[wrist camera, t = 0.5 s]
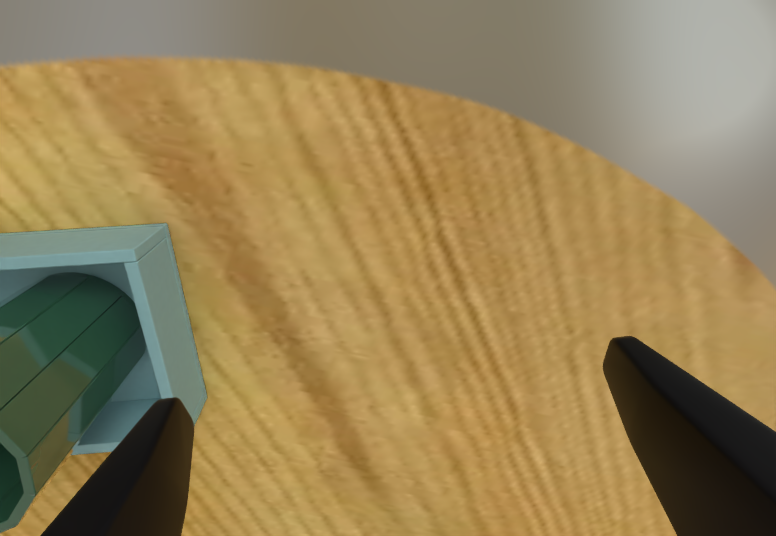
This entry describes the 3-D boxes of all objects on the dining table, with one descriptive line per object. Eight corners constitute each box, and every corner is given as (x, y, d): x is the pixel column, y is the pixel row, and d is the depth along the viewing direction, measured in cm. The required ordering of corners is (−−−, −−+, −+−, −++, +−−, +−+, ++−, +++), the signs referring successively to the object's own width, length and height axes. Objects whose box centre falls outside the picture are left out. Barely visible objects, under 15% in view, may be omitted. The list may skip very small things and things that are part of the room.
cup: (116, 398, 27) (-9, 566, 18) (-3, 343, 25) (-212, 497, 16) (170, 314, 25) (63, 450, 16) (46, 247, 23) (-155, 358, 14)
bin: (207, 397, 28) (185, 445, 24) (20, 412, 27) (-32, 464, 24) (167, 222, 24) (133, 249, 20) (-54, 236, 23) (-131, 266, 20)
